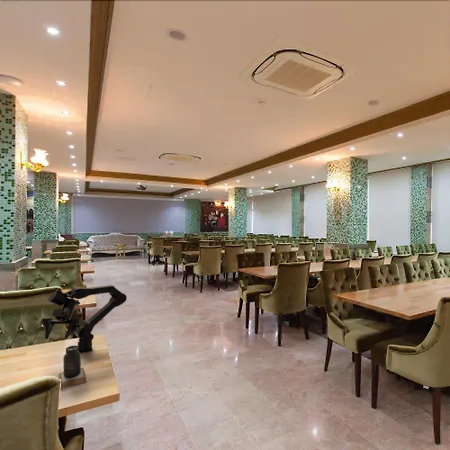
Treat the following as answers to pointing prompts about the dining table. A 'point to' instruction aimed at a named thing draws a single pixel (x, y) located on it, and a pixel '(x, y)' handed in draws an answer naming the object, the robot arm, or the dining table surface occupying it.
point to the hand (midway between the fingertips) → (55, 339)
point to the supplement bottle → (72, 362)
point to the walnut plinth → (72, 379)
